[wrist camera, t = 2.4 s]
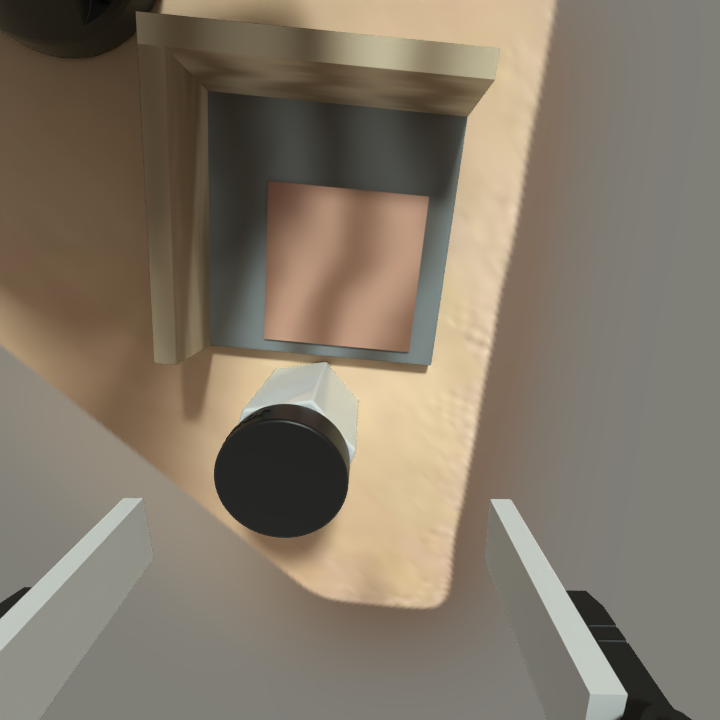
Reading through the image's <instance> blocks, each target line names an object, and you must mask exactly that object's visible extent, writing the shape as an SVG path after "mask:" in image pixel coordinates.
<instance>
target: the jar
mask: <svg viewBox="0 0 720 720" xmlns="http://www.w3.org/2000/svg"><path fill="white" fill-rule="evenodd" d="M358 403H359V400H358V398H357V397H356V396H355V395H354V394H353V393H352V391H351V390H350V389H349V388H348V387H347V385H346V384H345V383H344V382H343V381H342V380H341V378H340V377H339V376H338V375H337V374H336V372H335V371H334V370H333V369H332V368H331V366H330V365H329V364H328V363H327V362H321V363H313V364H306V365H299V366H292V367H284V368H277V369H275V370H274V372H273V373H272V374H271V375H270V377H269V378H268V379H267V380H266V382H265V383H264V384H263V385H262V387H261V388H260V389H259V390H258V392H257V393H256V394H255V395H254V397H253V398H252V399H251V401H250V402H249V403H248V404H247V406H246V407H245V408H244V409H243V411H242V414H241V417H240V420H239V423H238V425H237V426H236V427H235V428H234V429H233V430H232V431H231V433H230V434H229V435H228V437H227V438H226V441H225V442H224V443H223V445H222V448H221V449H220V451H219V453H218V456H217V459H216V462H215V468H214V481H215V487H216V490H217V493H218V496H219V498H220V500H221V502H222V504H223V505H224V507H225V508H226V510H227V511H228V512H229V513H230V514H231V515H232V516H233V517H234V518H235V519H236V520H237V521H238V522H239V523H241V524H242V525H244V526H245V527H247V528H249V529H251V530H253V531H255V532H258V533H260V534H263V535H267V536H272V537H280V538H290V537H298V536H303V535H306V534H309V533H312V532H314V531H316V530H318V529H320V528H322V527H323V526H325V525H326V524H327V523H329V522H330V521H331V520H332V519H333V518H334V517H335V516H336V515H337V513H338V512H339V510H340V509H341V507H342V505H343V503H344V501H345V498H346V495H347V491H348V483H349V470H350V464H351V462H352V460H353V457H354V455H355V453H356V443H357V423H358Z"/></svg>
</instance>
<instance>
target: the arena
mask: <svg viewBox="0 0 720 720" xmlns="http://www.w3.org/2000/svg"><path fill="white" fill-rule="evenodd" d="M136 28H137V46H138V65H139V84H140V103H141V122H142V140H143V159H144V178H145V197H146V216H147V234H148V253H149V272H150V291H151V310H152V328H153V347H154V363H161V364H172V365H177V364H179V363H180V362H182V361H184V360H186V359H187V358H189V357H191V356H193V355H194V354H196V353H198V352H199V351H201V350H203V349H205V348H206V347H208V346H210V345H216V346H227V347H238V348H249V349H259V350H270V351H281V352H292V353H302V354H313V355H324V356H335V357H346V358H356V359H367V360H378V361H389V362H399V363H410V364H421V365H431V361H432V354H433V347H434V341H435V334H436V327H437V320H438V313H439V307H440V300H441V293H442V286H443V279H444V273H445V266H446V259H447V252H448V246H449V239H450V232H451V225H452V218H453V212H454V205H455V198H456V191H457V184H458V178H459V171H460V164H461V157H462V151H463V144H464V137H465V130H466V123H467V117H468V115H469V114H470V113H471V111H472V110H473V109H474V107H475V106H476V105H477V103H478V102H479V100H480V99H481V98H482V96H483V95H484V94H485V92H486V91H487V90H488V88H489V87H490V86H491V84H492V83H493V81H494V80H495V75H496V69H497V63H498V57H499V51H500V48H494V47H484V46H474V45H464V44H454V43H444V42H434V41H424V40H415V39H405V38H395V37H385V36H375V35H365V34H355V33H345V32H335V31H326V30H316V29H306V28H296V27H286V26H276V25H266V24H256V23H247V22H237V21H227V20H217V19H207V18H197V17H187V16H177V15H168V14H158V13H148V12H138V11H136Z"/></svg>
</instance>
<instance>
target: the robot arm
mask: <svg viewBox="0 0 720 720" xmlns="http://www.w3.org/2000/svg"><path fill="white" fill-rule="evenodd" d="M154 1H155V0H0V30H1V31H2V32H4V33H5V34H7V35H9V36H10V37H12V38H13V39H15V40H17V41H18V42H20V43H22V44H24V45H25V46H28V47H30V48H32V49H34V50H36V51H39V52H42V53H45V54H48V55H52V56H57V57H63V58H83V57H90V56H95V55H98V54H101V53H104V52H106V51H109V50H111V49H113V48H114V47H116V46H118V45H119V44H121V43H122V42H124V41H125V40H126V39H127V38H129V37H130V36H131V35H132V34H133V33H134V32H135V31H136V30H137V28H136V11H138V12H148V13H149V11H150V9H151V7H152V5H153V3H154ZM153 559H154V557H153V551H152V545H151V540H150V534H149V528H148V523H147V516H146V511H145V506H144V500H143V498H123V499H122V500H121V501H120V502H119V503H118V504H117V505H116V506H115V507H114V508H113V509H112V510H111V511H110V512H109V513H108V514H107V515H106V516H105V517H104V518H103V519H101V520H100V522H98V523H97V524H96V525H95V526H94V528H92V529H91V530H90V531H89V532H88V533H87V534H86V535H85V536H84V537H83V538H82V539H81V540H80V541H79V542H78V543H77V544H76V545H75V546H74V547H73V548H72V549H71V550H70V551H69V552H68V553H67V554H66V555H65V556H64V557H63V558H62V559H61V560H60V561H59V562H58V563H57V564H56V565H55V566H54V567H53V568H52V569H51V570H50V571H49V572H48V573H47V574H46V575H45V576H44V577H43V578H42V579H41V580H39V581H38V582H37V583H36V584H35V585H34V586H33V587H31V588H30V587H28V588H27V587H26V588H25V587H24V588H23V589H21V590H19V591H18V592H16V593H15V594H14V595H12V596H10V597H9V598H7V599H6V600H4V601H3V602H1V603H0V720H39V719H40V718H41V717H42V715H43V714H44V712H45V711H46V710H47V708H48V707H49V705H50V704H51V702H52V701H53V700H54V698H55V697H56V695H57V694H58V693H59V691H60V690H61V688H62V687H63V686H64V684H65V683H66V681H67V680H68V678H69V677H70V676H71V674H72V673H73V672H74V670H75V669H76V667H77V666H78V664H79V663H80V662H81V660H82V659H83V657H84V656H85V655H86V653H87V652H88V650H89V649H90V647H91V646H92V644H93V643H94V642H95V641H96V639H97V638H98V636H99V635H100V633H101V632H102V631H103V629H104V628H105V626H106V625H107V624H108V622H109V621H110V619H111V618H112V617H113V615H114V614H115V612H116V611H117V610H118V608H119V607H120V605H121V604H122V603H123V601H124V599H125V598H126V597H127V596H128V594H129V593H130V591H131V590H132V588H133V587H134V586H135V584H136V583H137V581H138V580H139V579H140V577H141V576H142V574H143V573H144V572H145V570H146V569H147V567H148V566H149V564H150V563H151V562H152V560H153ZM485 563H486V565H487V568H488V571H489V573H490V576H491V578H492V580H493V583H494V586H495V588H496V591H497V594H498V596H499V599H500V601H501V604H502V606H503V609H504V612H505V614H506V616H507V619H508V622H509V624H510V627H511V629H512V632H513V635H514V637H515V640H516V642H517V645H518V647H519V650H520V652H521V655H522V658H523V660H524V663H525V665H526V668H527V670H528V673H529V675H530V678H531V680H532V683H533V686H534V688H535V691H536V693H537V696H538V698H539V701H540V703H541V706H542V709H543V711H544V714H545V716H546V719H547V720H691V719H690V718H689V717H687V716H686V715H685V714H683V713H681V712H679V711H677V710H675V709H674V708H673V707H672V706H671V705H670V703H669V702H668V701H667V699H666V698H665V696H664V695H663V693H662V692H661V690H660V689H659V687H658V686H657V684H656V683H655V682H654V680H653V679H652V677H651V676H650V674H649V673H648V671H647V670H646V668H645V667H644V665H643V664H642V662H641V661H640V659H639V658H638V657H637V655H636V654H635V652H634V651H633V649H632V648H631V646H630V645H629V644H628V643H627V642H626V639H625V637H624V636H623V635H622V633H621V632H620V630H619V629H618V628H616V624H615V623H614V621H613V620H612V618H611V617H610V616H609V614H608V612H607V611H606V610H605V608H604V607H603V606H602V605H601V604H600V603H599V602H598V601H597V600H595V599H594V598H593V597H592V596H591V595H590V594H589V593H588V592H586V591H565V589H564V588H563V586H562V584H561V582H560V581H559V579H558V577H557V576H556V574H555V572H554V571H553V569H552V567H551V566H550V564H549V562H548V561H547V559H546V557H545V556H544V554H543V552H542V551H541V549H540V547H539V546H538V544H537V542H536V541H535V539H534V537H533V536H532V534H531V532H530V531H529V529H528V527H527V526H526V524H525V522H524V521H523V519H522V517H521V516H520V514H519V512H518V511H517V509H516V507H515V506H514V504H513V502H512V501H511V499H491V500H490V507H489V519H488V530H487V541H486V552H485Z"/></svg>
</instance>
